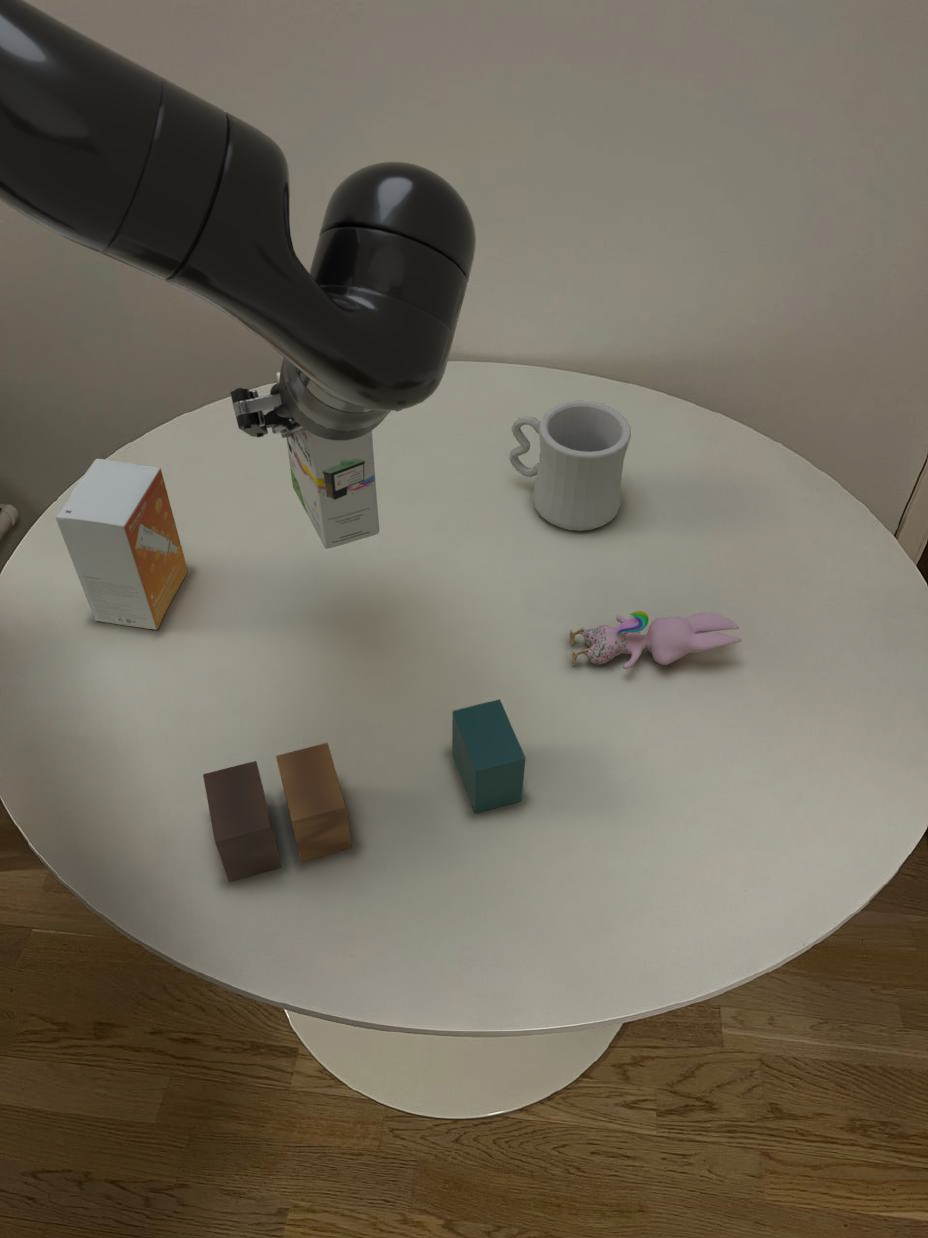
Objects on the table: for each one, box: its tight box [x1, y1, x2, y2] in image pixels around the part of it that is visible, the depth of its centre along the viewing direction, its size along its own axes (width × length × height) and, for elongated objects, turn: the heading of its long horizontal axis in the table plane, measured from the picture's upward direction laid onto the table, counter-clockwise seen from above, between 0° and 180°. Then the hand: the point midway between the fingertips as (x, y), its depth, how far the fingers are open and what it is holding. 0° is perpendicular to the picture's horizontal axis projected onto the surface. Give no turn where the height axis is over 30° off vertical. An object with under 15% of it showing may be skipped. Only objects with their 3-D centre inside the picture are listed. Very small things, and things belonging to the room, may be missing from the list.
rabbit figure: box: [569, 610, 743, 670], centre depth 89 cm, size 6×6×15 cm
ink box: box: [276, 371, 380, 550], centre depth 79 cm, size 8×5×12 cm, turn 24°
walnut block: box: [202, 760, 282, 883], centre depth 76 cm, size 4×6×6 cm, turn 18°
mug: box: [508, 400, 632, 532], centre depth 101 cm, size 12×9×10 cm
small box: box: [55, 458, 189, 630], centre depth 90 cm, size 8×6×13 cm
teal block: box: [451, 698, 526, 814], centre depth 80 cm, size 4×6×6 cm, turn 18°
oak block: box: [275, 742, 352, 863], centre depth 77 cm, size 4×6×6 cm, turn 18°
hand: (320, 416), depth 78 cm, fingers closed on ink box, 5 cm apart
